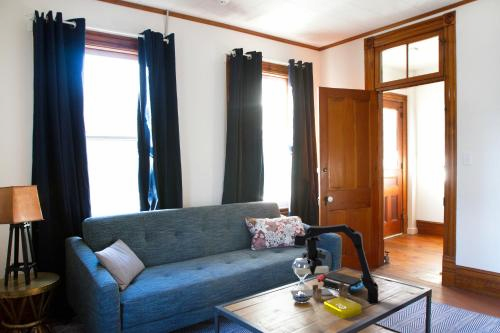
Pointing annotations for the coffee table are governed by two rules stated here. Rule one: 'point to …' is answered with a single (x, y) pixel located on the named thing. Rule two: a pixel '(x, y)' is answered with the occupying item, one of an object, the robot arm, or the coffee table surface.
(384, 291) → the coffee table surface
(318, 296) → the hook posts
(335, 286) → the game console
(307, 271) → the steel rail
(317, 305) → the coffee table surface
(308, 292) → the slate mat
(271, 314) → the coffee table surface
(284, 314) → the coffee table surface
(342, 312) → the element tile
